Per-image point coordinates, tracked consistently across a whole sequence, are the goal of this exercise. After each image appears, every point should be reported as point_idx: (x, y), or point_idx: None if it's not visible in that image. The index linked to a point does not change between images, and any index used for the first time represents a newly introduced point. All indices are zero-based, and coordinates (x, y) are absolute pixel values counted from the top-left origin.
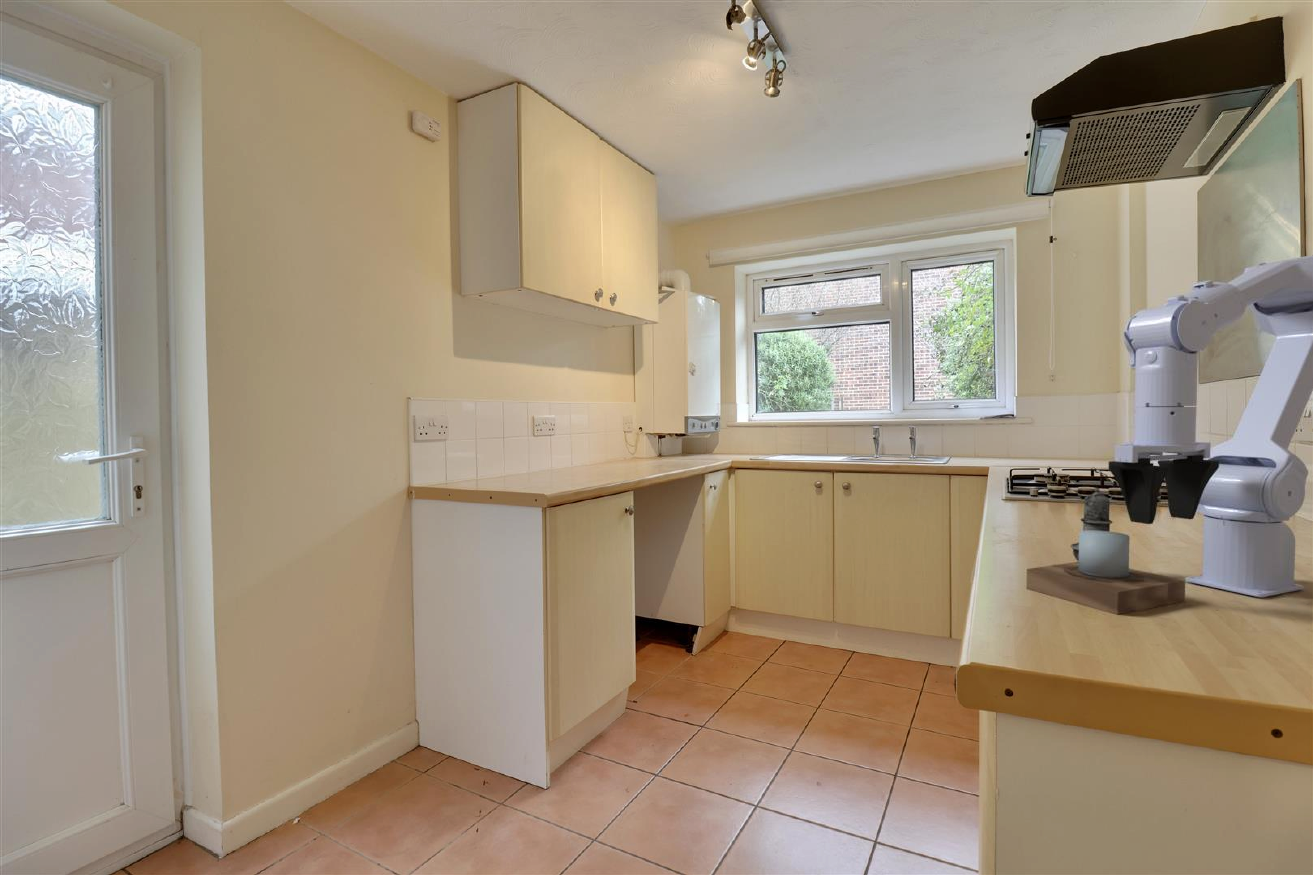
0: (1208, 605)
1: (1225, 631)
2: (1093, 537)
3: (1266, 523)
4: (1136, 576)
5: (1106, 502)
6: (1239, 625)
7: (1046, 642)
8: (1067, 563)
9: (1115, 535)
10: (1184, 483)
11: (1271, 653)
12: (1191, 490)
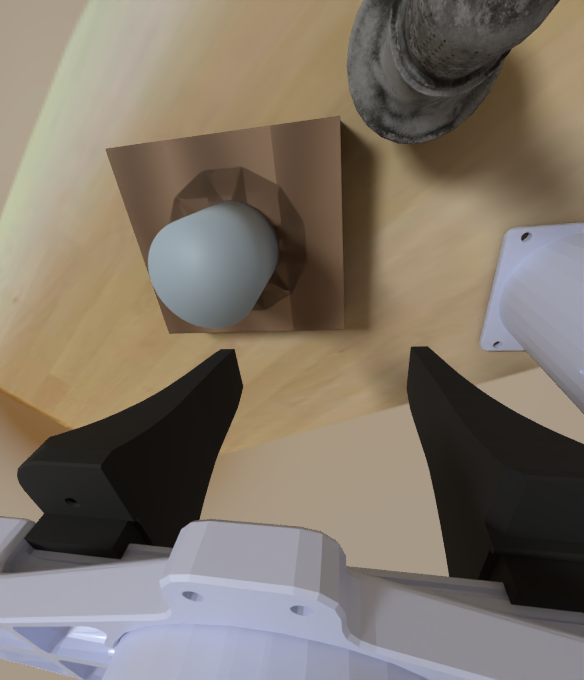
0: (357, 335)
1: (258, 394)
2: (156, 288)
3: None
4: (288, 280)
5: (478, 56)
6: (297, 390)
7: (39, 349)
8: (241, 132)
9: (218, 300)
10: (444, 463)
11: (236, 434)
12: (432, 459)
